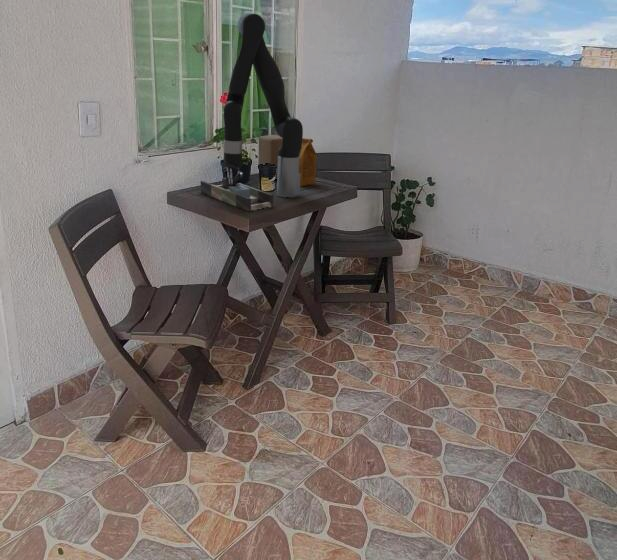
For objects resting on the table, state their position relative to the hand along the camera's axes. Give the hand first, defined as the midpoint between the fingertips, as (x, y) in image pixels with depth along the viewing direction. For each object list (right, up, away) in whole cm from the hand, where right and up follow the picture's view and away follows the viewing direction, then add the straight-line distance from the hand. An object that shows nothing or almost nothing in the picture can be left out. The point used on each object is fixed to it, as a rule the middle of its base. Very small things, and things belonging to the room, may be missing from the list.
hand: (233, 192), depth 235 cm
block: (+14, +13, +40) cm, 44 cm away
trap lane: (+1, -3, 0) cm, 3 cm away
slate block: (+3, -3, -4) cm, 6 cm away
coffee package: (+29, +9, +31) cm, 43 cm away
